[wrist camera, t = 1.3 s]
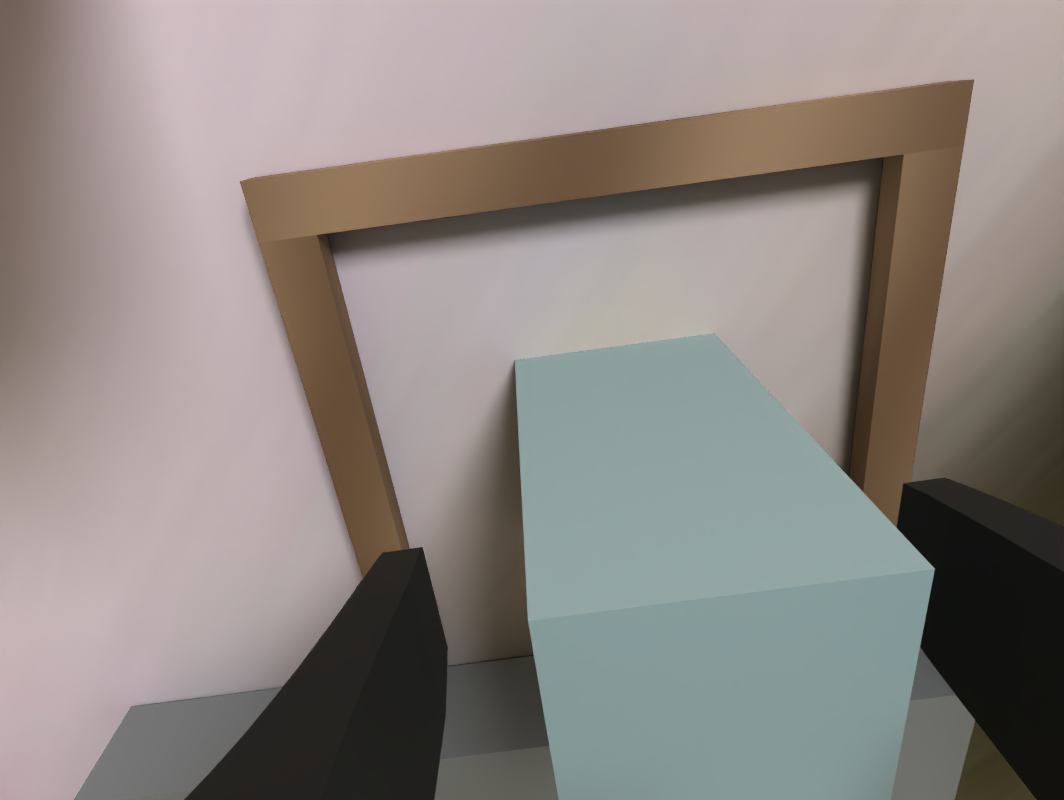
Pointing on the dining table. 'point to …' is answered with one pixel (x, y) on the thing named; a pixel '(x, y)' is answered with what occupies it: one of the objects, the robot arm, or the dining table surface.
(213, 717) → the socket board
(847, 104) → the frame
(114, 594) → the dining table surface
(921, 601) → the peg
